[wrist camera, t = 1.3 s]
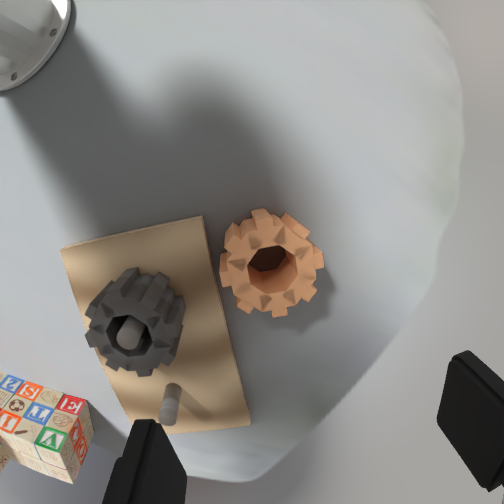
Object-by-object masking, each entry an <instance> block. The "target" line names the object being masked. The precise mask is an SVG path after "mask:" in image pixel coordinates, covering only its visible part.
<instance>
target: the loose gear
mask: <svg viewBox="0 0 504 504" xmlns="http://www.w3.org/2000/svg"><path fill="white" fill-rule="evenodd" d="M251 213H252V218H250V219H244V220H243V222H242V223H241V225H240V226H238V225H236V224H235V223H233V222H232V224H231V225H230V227H229V228H228V230H227V231H226V232H225V243H224V248H225V249H226V250H227V252H226V253H221V258H220V270H219V274H220V278H221V283H222V287H227V286H232V290H233V294H234V295H235V296H236V305H237V307H238V308H240V309H241V310H243V311H245V312H247V313H248V314H250V312H251V311H252V310H253V308H254V307H255V308H256V309H258V310H260V311H261V312H265V311H270V310H271V313H272V316H273V318H275V317H280V316H285V315H288V314H287V308H286V307H290V306H295V305H296V304H297V303H298V302H299V300H300V299H301V298H302V299H304V300H305V301H307V302H309V301H310V299H311V298H312V297H313V296H314V294H315V293H316V292H317V289H316V288H315V286H314V285H313V282H314V281H315V280H316V270H315V269H320V268H324V262H323V253H322V252H321V251H320V250H319V249H318V248H317V247H316V246H315V245H314V244H313V243H312V242H311V241H309V240H308V239H307V238H306V237H307V236H308V234H309V233H310V231H308V230H307V229H306V228H305V227H304V226H302V225H301V224H300V223H299V222H298V221H296V220H295V219H294V218H292V217H291V216H289V215H288V214H287V213H284V215H283V216H282V218H281V219H280V218H279V217H277V216H276V215H274V214H271V215H270V214H269V213H268V212H267V211H266V209H265V208H261V209H255V210H251ZM276 245H280V246H281V247H283V248H284V249H285V252H286V256H285V258H284V259H283V261H282V262H281V263H280V265H279V266H278V267H277V269H273V270H268V271H263V272H259V271H258V270H256V269H255V268H253V267H252V266H250V265H248V263H249V262H250V260H251V259H252V257H253V256H254V255H255V253H256V252H257V250H258V249H260V248H265V247H271V246H276Z"/></svg>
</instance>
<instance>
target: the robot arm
mask: <svg viewBox="0 0 504 504" xmlns="http://www.w3.org/2000/svg"><path fill="white" fill-rule="evenodd" d="M70 13H71V2H70V0H0V91H5V90H8V89H12V88H14V87H16V86H18V85H20V84H22V83H24V82H25V81H26V80H28V79H29V78H31V77H32V76H33V75H34V74H35V73H36V72H37V71H38V70H40V68H41V67H42V66H43V65H44V64H45V63H46V62H47V61H48V59H49V58H50V57H51V55H52V54H53V53H54V51H55V50H56V48H57V46H58V45H59V43H60V41H61V40H62V38H63V35H64V33H65V31H66V29H67V26H68V22H69V19H70ZM437 423H438V425H439V427H440V428H441V430H442V431H443V433H444V434H445V435H446V437H447V438H448V440H449V441H450V443H451V444H452V445H453V447H454V448H455V450H456V451H457V452H458V454H459V455H460V456H461V458H462V460H463V461H464V463H465V464H466V465H467V467H468V468H469V470H470V471H471V473H472V474H473V476H474V477H475V479H476V480H477V482H478V483H479V485H480V486H481V487H483V488H486V489H487V490H488V492H490V491H492V490H494V489H495V488H497V487H498V486H500V485H501V484H502V485H503V487H504V381H503V380H502V379H501V378H500V377H499V376H498V375H497V374H496V373H494V372H493V371H492V370H491V369H490V368H489V367H488V366H487V365H486V364H484V363H483V362H482V361H481V360H480V359H479V358H478V357H477V356H475V355H474V354H473V353H472V352H471V351H469V350H466V351H464V352H462V353H459V354H457V355H454V356H453V357H452V360H451V361H450V362H449V365H448V370H447V375H446V380H445V384H444V389H443V394H442V398H441V403H440V406H439V410H438V414H437ZM186 485H187V475H186V472H185V470H184V468H183V466H182V464H181V462H180V460H179V459H178V457H177V455H176V453H175V451H174V449H173V447H172V445H171V443H170V441H169V439H168V437H167V435H166V433H165V431H164V429H163V427H162V425H161V424H160V423H156V421H155V420H154V419H136V420H135V421H134V423H133V426H132V429H131V431H130V434H129V437H128V440H127V443H126V446H125V449H124V452H123V455H122V457H119V458H118V459H117V460H116V462H115V465H114V468H113V471H112V474H111V477H110V480H109V483H108V486H107V489H106V492H105V496H104V499H103V502H102V504H184V503H185V494H186ZM502 504H504V495H503V500H502Z"/></svg>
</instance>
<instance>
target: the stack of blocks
mask: <svg viewBox="0 0 504 504" xmlns="http://www.w3.org/2000/svg"><path fill="white" fill-rule="evenodd" d="M90 417H91V416H90V412H89V408H88V403H87V400H85V399H80V398H77V397H73V396H69V395H64V393H61V392H58V391H55V390H52V389H48V388H44V387H42V386H39V385H36V384H33V383H31V382H28V381H24V380H21V379H19V378H16V377H13V376H11V375H7V374H5V373H3V372H0V474H1V472H2V471H3V469H4V467H5V466H6V464H7V462H8V461H9V459H11V460H14V461H16V462H18V463H20V464H22V465H24V466H27V467H29V468H31V469H33V470H36V471H38V472H41V473H43V474H46V475H48V476H52V477H54V478H57V479H59V480H62V481H65V482H68V483H71V484H74V481H75V479H76V477H77V474H78V471H79V469H80V466H81V465H82V463H83V461H84V458H85V456H86V453H87V450H88V448H89V445H90V442H91V440H92V438H93V435H94V430H93V426H92V422H91V418H90Z"/></svg>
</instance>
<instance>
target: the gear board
mask: <svg viewBox="0 0 504 504" xmlns="http://www.w3.org/2000/svg"><path fill="white" fill-rule="evenodd" d="M60 252H61V256H62V259H63V263H64V266H65V269H66V273H67V276H68V279H69V282H70V285H71V288H72V291H73V294H74V297H75V300H76V302H77V305H78V308H79V311H80V313H81V316H82V319H83V321H84V324H85V326H86V329H87V333H86V334H85V337H86V339H87V342H88V344H89V347H90V348H91V347H94V348H95V351H96V353H97V355H98V358H99V360H100V362H101V364H102V367H103V369H104V371H105V373H106V375H107V377H108V379H109V381H110V384H111V386H112V388H113V390H114V392H115V394H116V396H117V398H118V400H119V402H120V403H121V405H122V407H123V409H124V411H125V413H126V415H127V417H128V418H129V420H130V422H131V424H132V426H133V423H134V421H135V420H136V419H154V420H155V421H156V423H160V424H161V425H162V427H163V429H164V431H165V433H166V434H176V433H189V432H200V431H210V430H218V429H226V428H234V427H241V426H248V425H251V419H250V413H249V409H248V406H247V402H246V398H245V394H244V391H243V387H242V383H241V379H240V375H239V371H238V367H237V364H236V360H235V356H234V352H233V348H232V344H231V339H230V335H229V331H228V327H227V323H226V319H225V315H224V310H223V306H222V302H221V298H220V293H219V289H218V285H217V280H216V276H215V271H214V267H213V262H212V258H211V253H210V249H209V244H208V239H207V235H206V230H205V225H204V220H203V215H201V216H196V217H191V218H187V219H182V220H177V221H172V222H168V223H163V224H158V225H154V226H149V227H145V228H140V229H136V230H131V231H127V232H122V233H118V234H114V235H109V236H105V237H101V238H97V239H93V240H88V241H84V242H80V243H76V244H72V245H68V246H66V247H64V248H62V249H61V250H60Z"/></svg>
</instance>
